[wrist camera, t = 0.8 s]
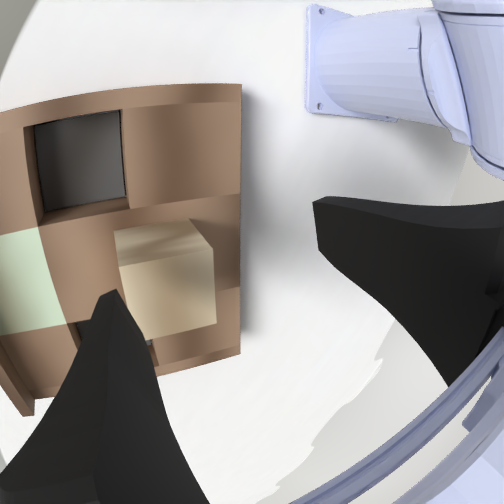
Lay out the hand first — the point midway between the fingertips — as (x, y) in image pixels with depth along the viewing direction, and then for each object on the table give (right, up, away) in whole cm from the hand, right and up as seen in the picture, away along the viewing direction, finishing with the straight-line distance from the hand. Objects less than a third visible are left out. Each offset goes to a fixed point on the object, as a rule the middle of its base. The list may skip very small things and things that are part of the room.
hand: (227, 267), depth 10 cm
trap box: (-9, +1, +7) cm, 11 cm away
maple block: (-4, 0, +6) cm, 8 cm away
